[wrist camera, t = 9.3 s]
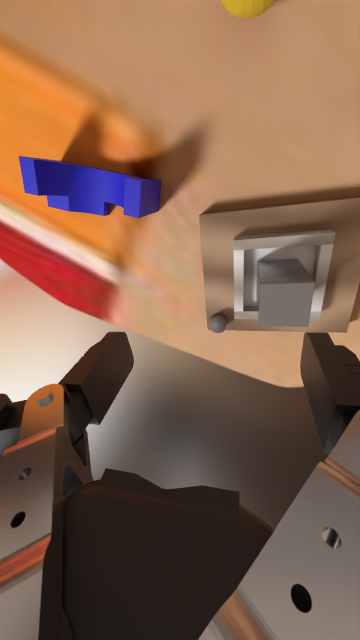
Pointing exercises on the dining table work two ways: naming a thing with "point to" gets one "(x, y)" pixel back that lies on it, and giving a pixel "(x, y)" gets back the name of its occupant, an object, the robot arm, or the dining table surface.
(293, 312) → the hinge block
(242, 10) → the lemon
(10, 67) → the dining table surface
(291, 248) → the door panel
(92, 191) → the cable clip
